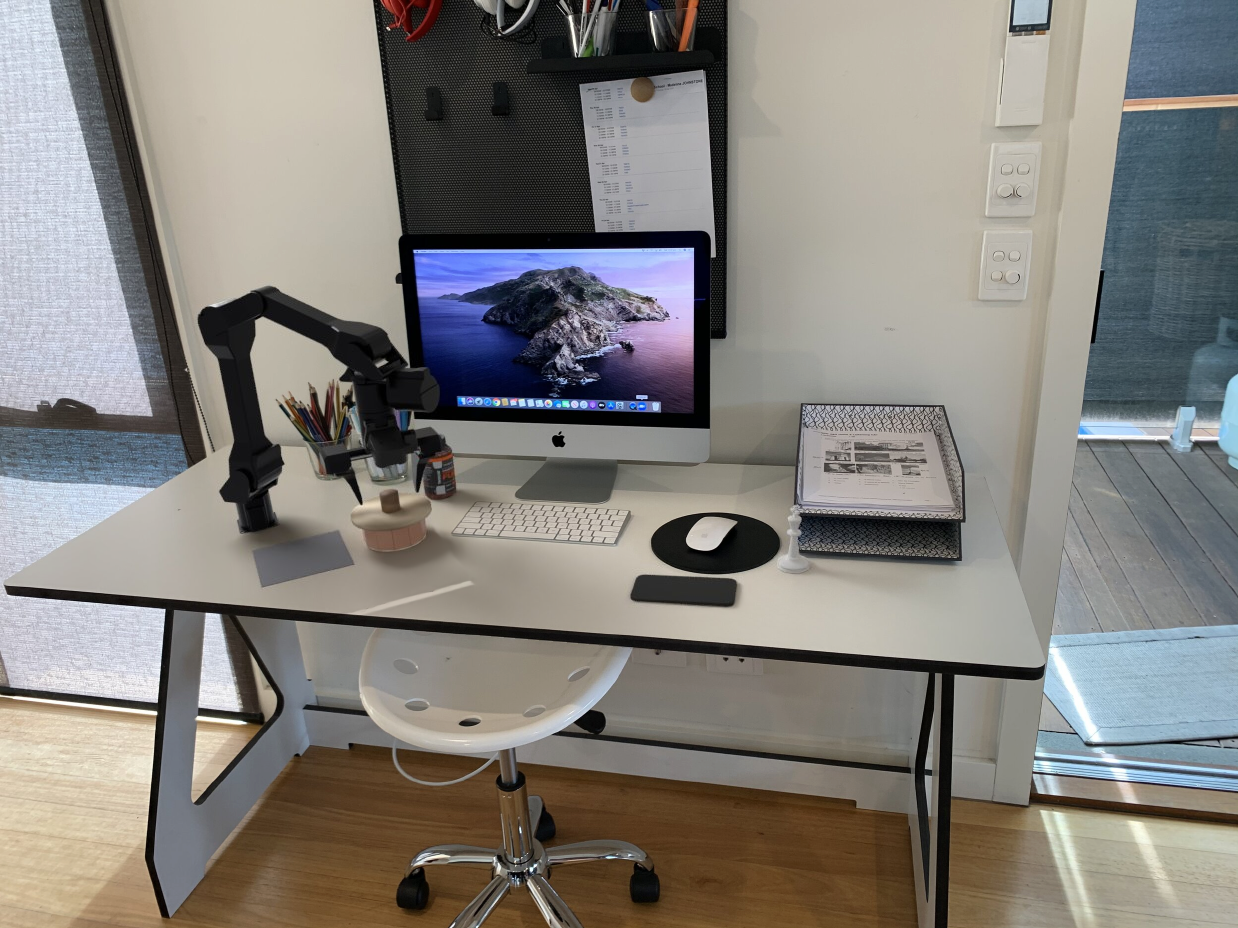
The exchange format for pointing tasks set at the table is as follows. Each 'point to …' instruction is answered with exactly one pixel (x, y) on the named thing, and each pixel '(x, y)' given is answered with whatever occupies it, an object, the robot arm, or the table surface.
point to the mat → (301, 558)
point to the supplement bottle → (440, 474)
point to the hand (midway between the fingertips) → (389, 498)
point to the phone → (684, 590)
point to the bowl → (395, 538)
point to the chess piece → (793, 548)
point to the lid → (391, 511)
